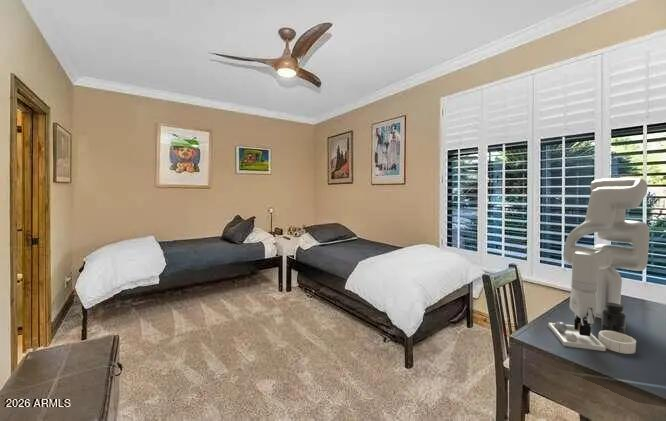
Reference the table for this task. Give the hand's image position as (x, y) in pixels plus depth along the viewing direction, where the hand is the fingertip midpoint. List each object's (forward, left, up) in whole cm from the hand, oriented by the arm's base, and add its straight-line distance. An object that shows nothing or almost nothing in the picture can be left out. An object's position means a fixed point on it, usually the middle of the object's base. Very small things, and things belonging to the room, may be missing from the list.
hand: (582, 332), depth 114 cm
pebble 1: (-4, -6, -2) cm, 7 cm away
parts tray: (+1, -2, -3) cm, 4 cm away
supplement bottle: (-7, +13, -3) cm, 15 cm away
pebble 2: (+6, -5, -2) cm, 8 cm away
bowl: (+4, +9, -3) cm, 10 cm away
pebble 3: (0, 0, 0) cm, 0 cm away
